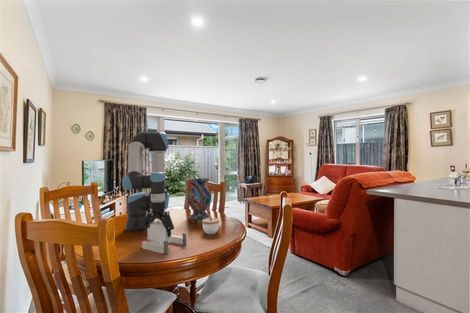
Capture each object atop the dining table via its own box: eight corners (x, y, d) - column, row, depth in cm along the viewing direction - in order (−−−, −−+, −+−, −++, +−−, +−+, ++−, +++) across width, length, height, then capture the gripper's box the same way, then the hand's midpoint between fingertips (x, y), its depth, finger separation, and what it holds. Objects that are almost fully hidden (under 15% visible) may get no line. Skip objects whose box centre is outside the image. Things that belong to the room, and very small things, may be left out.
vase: (184, 220, 180) (183, 180, 180) (192, 214, 198) (191, 178, 198) (207, 220, 177) (207, 180, 177) (214, 214, 195) (213, 177, 195)
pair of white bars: (141, 248, 123) (141, 237, 123) (164, 239, 137) (163, 229, 137) (165, 254, 115) (165, 242, 115) (187, 244, 129) (187, 233, 129)
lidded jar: (217, 235, 142) (216, 220, 142) (199, 235, 144) (199, 219, 144) (221, 230, 152) (221, 215, 152) (205, 229, 154) (205, 215, 154)
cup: (152, 242, 132) (152, 220, 132) (169, 241, 133) (168, 220, 133) (147, 248, 123) (147, 225, 123) (165, 247, 124) (165, 224, 124)
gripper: (136, 200, 131) (137, 239, 131) (170, 204, 119) (170, 247, 119) (147, 198, 138) (148, 235, 137) (180, 201, 126) (181, 242, 125)
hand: (158, 241), depth 128 cm, fingers open, 13 cm apart
